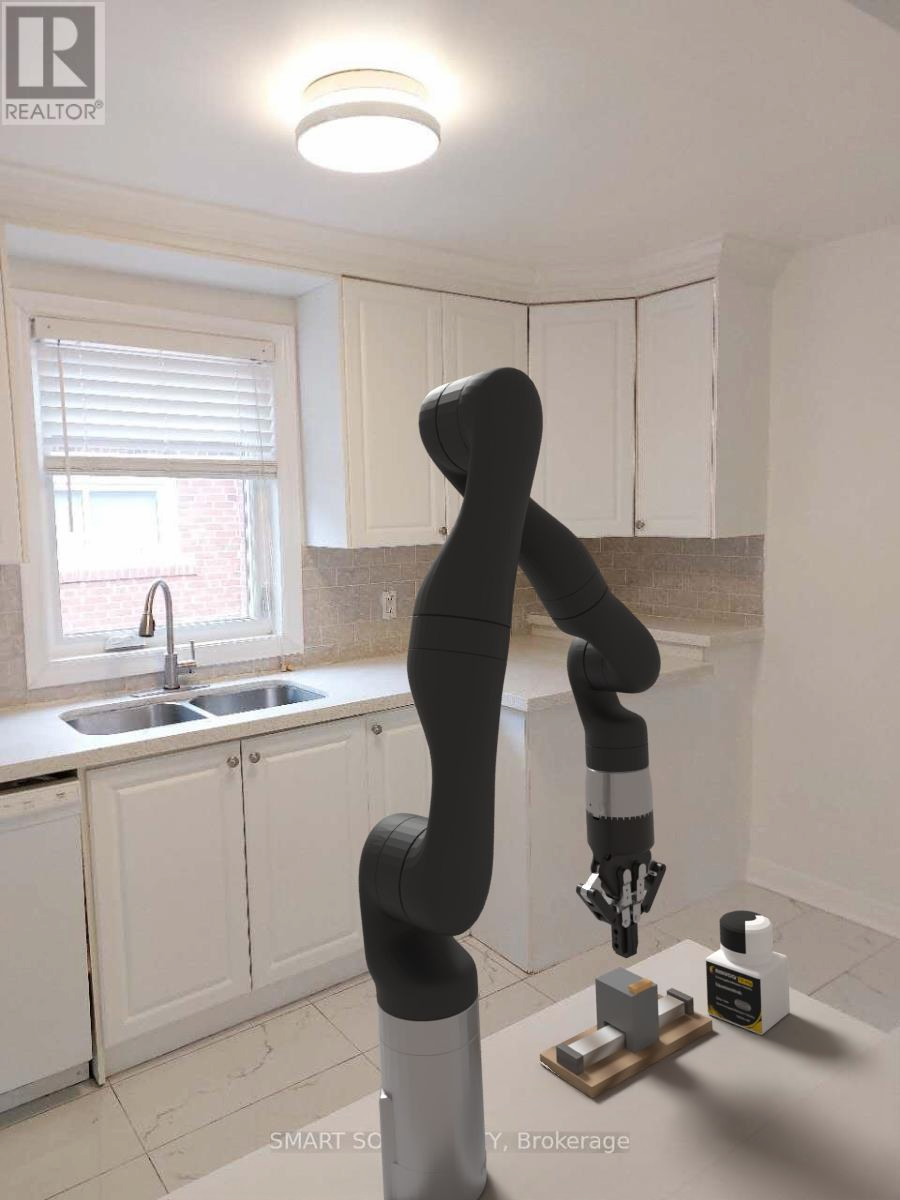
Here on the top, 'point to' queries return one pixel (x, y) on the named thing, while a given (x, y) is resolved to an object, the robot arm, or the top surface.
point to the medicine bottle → (747, 974)
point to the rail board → (624, 1047)
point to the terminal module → (628, 1007)
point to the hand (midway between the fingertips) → (625, 954)
